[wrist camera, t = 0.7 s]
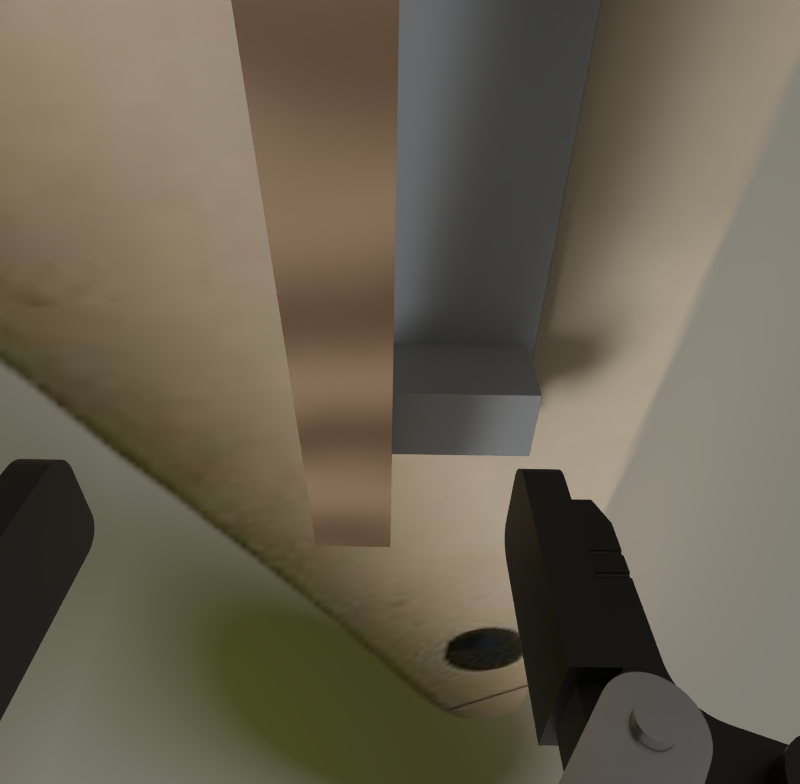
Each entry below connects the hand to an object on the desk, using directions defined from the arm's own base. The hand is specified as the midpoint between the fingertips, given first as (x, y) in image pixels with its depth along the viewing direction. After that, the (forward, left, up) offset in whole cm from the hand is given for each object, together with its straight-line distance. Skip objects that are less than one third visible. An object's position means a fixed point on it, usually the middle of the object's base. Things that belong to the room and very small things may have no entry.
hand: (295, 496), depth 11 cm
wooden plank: (0, 0, -13) cm, 13 cm away
